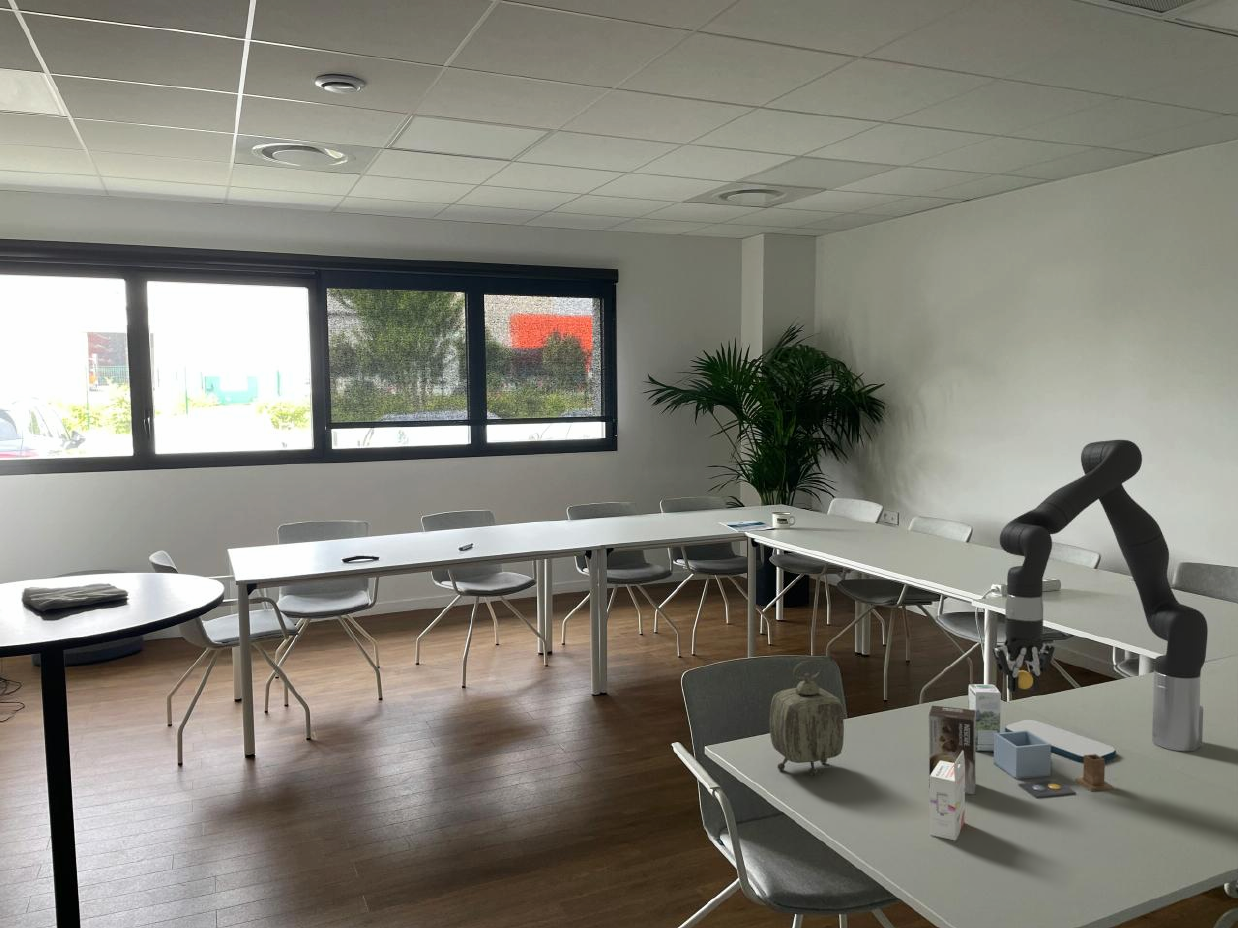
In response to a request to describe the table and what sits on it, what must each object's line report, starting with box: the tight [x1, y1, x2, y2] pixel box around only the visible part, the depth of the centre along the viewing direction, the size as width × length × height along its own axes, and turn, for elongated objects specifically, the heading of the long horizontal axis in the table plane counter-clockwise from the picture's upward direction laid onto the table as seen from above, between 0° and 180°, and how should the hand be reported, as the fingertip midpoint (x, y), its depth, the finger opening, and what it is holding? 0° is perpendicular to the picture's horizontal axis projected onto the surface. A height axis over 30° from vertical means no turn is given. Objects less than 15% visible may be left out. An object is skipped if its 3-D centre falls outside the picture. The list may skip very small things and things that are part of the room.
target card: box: [1018, 779, 1077, 799], centre depth 186 cm, size 9×6×1 cm, turn 100°
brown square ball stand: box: [1074, 754, 1114, 792], centre depth 187 cm, size 5×5×6 cm
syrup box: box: [967, 683, 1002, 753], centre depth 208 cm, size 6×6×14 cm
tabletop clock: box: [769, 660, 845, 777], centre depth 196 cm, size 14×9×25 cm, turn 108°
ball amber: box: [1017, 669, 1033, 690], centre depth 194 cm, size 4×4×4 cm
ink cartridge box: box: [929, 751, 966, 841], centre depth 169 cm, size 9×5×15 cm, turn 148°
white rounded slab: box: [1004, 719, 1117, 764], centre depth 209 cm, size 24×12×2 cm, turn 30°
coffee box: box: [928, 705, 977, 795], centre depth 188 cm, size 9×6×16 cm
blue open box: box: [993, 731, 1052, 780], centre depth 195 cm, size 8×8×7 cm
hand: (1022, 691), depth 194 cm, fingers closed on ball amber, 4 cm apart
